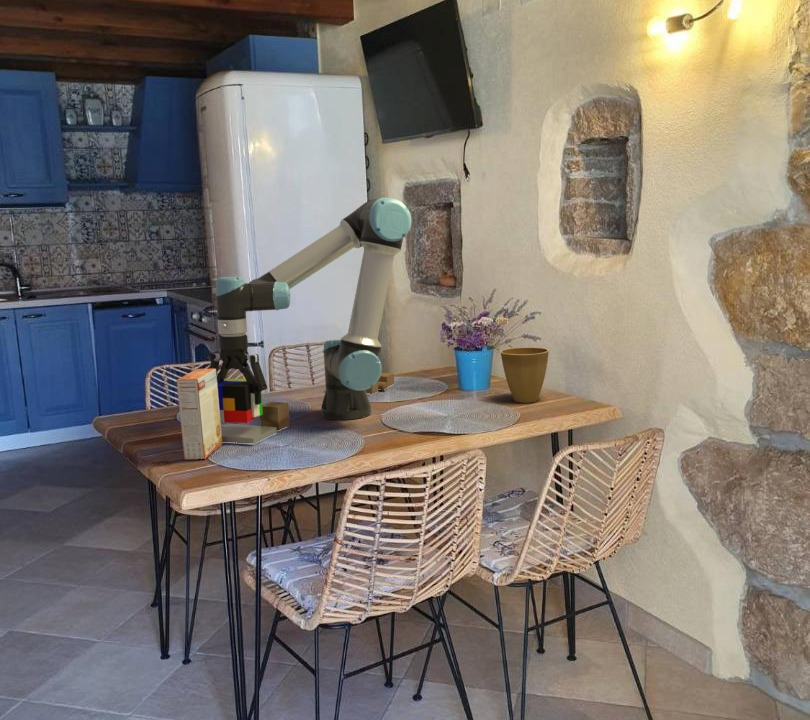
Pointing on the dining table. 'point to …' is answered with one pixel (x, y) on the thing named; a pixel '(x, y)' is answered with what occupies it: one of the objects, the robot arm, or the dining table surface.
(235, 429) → the slate tile
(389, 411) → the dining table surface
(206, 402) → the cracker box
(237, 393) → the puzzle toy
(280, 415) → the walnut block
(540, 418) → the dining table surface
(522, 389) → the plant pot
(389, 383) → the wooden block set
